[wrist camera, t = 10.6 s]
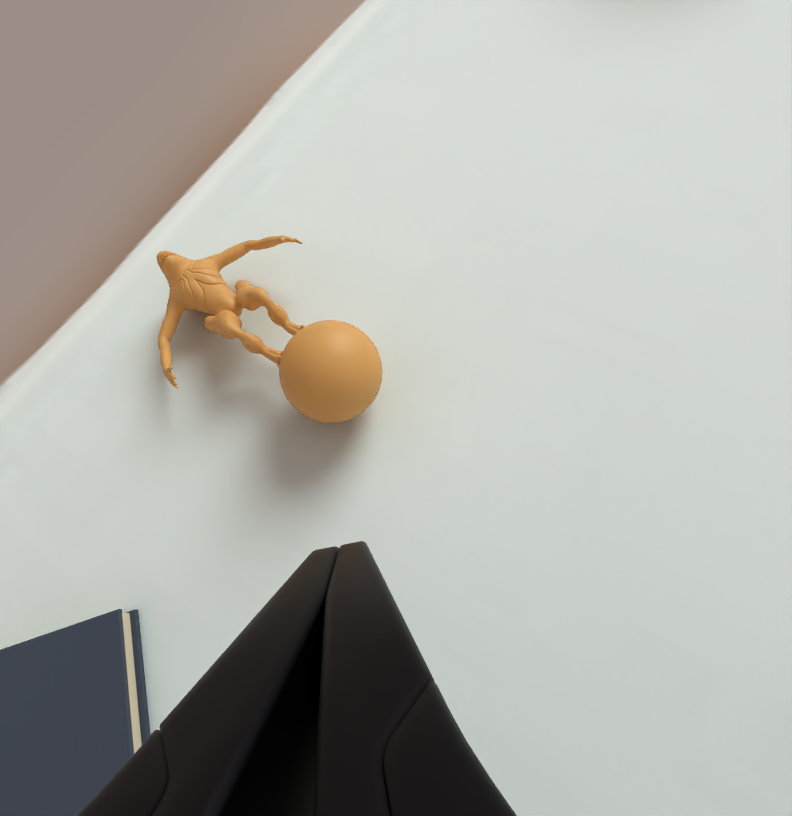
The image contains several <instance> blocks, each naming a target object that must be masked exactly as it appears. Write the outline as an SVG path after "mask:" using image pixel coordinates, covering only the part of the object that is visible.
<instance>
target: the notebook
mask: <svg viewBox="0 0 792 816" xmlns="http://www.w3.org/2000/svg"><path fill="white" fill-rule="evenodd" d="M149 736H150V727H149V717H148V707H147V697H146V686H145V676H144V666H143V656H142V645H141V635H140V625H139V615H138V610H132V611H129V612H126V613H122V609H118V610H115V611H112V612H109V613H106V614H103V615H100V616H97V617H95V618H92V619H89V620H86V621H83V622H80V623H77V624H74V625H71V626H68V627H66V628H63V629H60V630H57V631H54V632H51V633H48V634H45V635H42V636H39V637H37V638H34V639H31V640H28V641H25V642H22V643H19V644H16V645H13V646H10V647H7V648H5V649H2V650H0V816H77V815H78V814H79V813H80V812H81V811H82V810H83V809H84V808H85V807H86V806H87V805H88V804H89V803H90V802H91V801H92V800H93V799H94V797H95V796H96V795H97V794H98V793H99V792H100V791H101V790H102V789H103V788H104V787H105V785H106V784H107V783H108V782H109V781H110V780H111V779H112V778H113V777H114V776H115V774H116V773H117V772H118V771H119V770H120V769H121V768H122V767H123V766H124V765H125V763H126V762H127V761H128V760H129V759H130V758H131V757H132V756H133V755H134V754H135V752H136V751H137V750H138V749H139V748H140V747H141V746H142V744H143V743H144V742H145V741H146V740H147V739H148V738H149Z"/></svg>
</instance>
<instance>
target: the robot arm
mask: <svg viewBox="0 0 792 816" xmlns="http://www.w3.org/2000/svg"><path fill="white" fill-rule="evenodd" d="M77 816H516V814H515V813H514V811H513V810H512V808H511V807H510V806H509V804H508V803H507V801H506V800H505V798H504V797H503V796H502V794H501V793H500V791H499V790H498V788H497V787H496V786H495V784H494V783H493V781H492V780H491V778H490V777H489V775H488V774H487V772H486V771H485V769H484V767H483V766H482V764H481V763H480V761H479V760H478V758H477V757H476V755H475V754H474V752H473V750H472V749H471V747H470V746H469V744H468V743H467V741H466V739H465V738H464V736H463V734H462V732H461V730H460V728H459V727H458V725H457V723H456V721H455V719H454V718H453V716H452V714H451V712H450V710H449V708H448V707H447V705H446V702H445V700H444V698H443V696H442V694H441V692H440V690H439V688H438V686H437V685H436V684H435V682H434V679H433V677H432V675H431V673H430V671H429V669H428V667H427V665H426V663H425V661H424V659H423V657H422V655H421V653H420V651H419V649H418V647H417V645H416V643H415V641H414V639H413V637H412V635H411V633H410V631H409V629H408V627H407V625H406V623H405V621H404V619H403V617H402V615H401V613H400V611H399V609H398V607H397V605H396V602H395V600H394V598H393V596H392V594H391V592H390V590H389V588H388V586H387V584H386V582H385V580H384V578H383V576H382V574H381V572H380V570H379V568H378V566H377V564H376V562H375V560H374V558H373V556H372V554H371V552H370V550H369V548H368V546H367V544H366V543H365V542H363V541H360V542H355V543H350V544H345V545H342V546H341V547H340V548H338V547H329V548H324V549H319V550H315V551H313V552H312V553H311V554H310V555H309V556H308V557H307V558H306V559H305V561H304V562H303V563H302V564H301V565H300V566H299V567H298V569H297V570H296V571H295V572H294V573H293V574H292V575H291V577H290V578H289V579H288V580H287V581H286V582H285V583H284V584H283V586H282V587H281V588H280V589H279V590H278V591H277V592H276V594H275V595H274V596H273V597H272V598H271V599H270V600H269V602H268V603H267V604H266V605H265V606H264V607H263V608H262V609H261V611H260V612H259V613H258V614H257V615H256V616H255V617H254V619H253V620H252V621H251V622H250V623H249V624H248V625H247V627H246V628H245V629H244V630H243V631H242V632H241V633H240V634H239V636H238V637H237V638H236V639H235V640H234V641H233V642H232V644H231V645H230V646H229V647H228V648H227V649H226V650H225V652H224V653H223V654H222V655H221V656H220V657H219V658H218V659H217V661H216V662H215V663H214V664H213V665H212V666H211V667H210V669H209V670H208V671H207V672H206V673H205V674H204V675H203V677H202V678H201V679H200V680H199V681H198V682H197V683H196V684H195V686H194V687H193V688H192V689H191V690H190V691H189V692H188V694H187V695H186V696H185V697H184V698H183V699H182V700H181V702H180V703H179V704H178V705H177V706H176V707H175V708H174V709H173V711H172V712H171V713H170V714H169V715H168V716H167V717H166V719H165V720H164V721H163V722H162V723H161V725H160V730H155V731H154V732H153V733H152V734H151V735H150V736H149V738H148V739H147V740H146V741H145V742H144V743H143V744H142V746H141V747H140V748H139V749H138V750H137V751H136V752H135V754H134V755H133V756H132V757H131V758H130V759H129V760H128V761H127V762H126V763H125V765H124V766H123V767H122V768H121V769H120V770H119V771H118V772H117V773H116V774H115V776H114V777H113V778H112V779H111V780H110V781H109V782H108V783H107V784H106V785H105V787H104V788H103V789H102V790H101V791H100V792H99V793H98V794H97V795H96V796H95V797H94V799H93V800H92V801H91V802H90V803H89V804H88V805H87V806H86V807H85V808H84V809H83V810H82V811H81V812H80V813H79V814H78V815H77Z"/></svg>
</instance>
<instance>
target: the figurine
mask: <svg viewBox="0 0 792 816" xmlns="http://www.w3.org/2000/svg"><path fill="white" fill-rule="evenodd" d="M285 242H297V243H300V244H302V242H300V241H299V240H297V239H293V238H291V237H286V236H277V237H274V236H273V237H267V238H264V239H261V240H251V241H246V242H243V243H240V244H238V245H235V246H233V247H231V248H229V249H227V250H225V251H224V252H222V253H220V254H217V255H213V256H210V257H207V258H204V259H200V260H195V261H194V260H190V259H187V258H184V257H182V256H180V255H177V254H175V253H172V252H169V251H161V252H159V253H158V254H157V261H158V265H159V267H160V268H161V270H162V272H163V273H164V275H165V277H166V279H167V281H168V283H169V287H170V295H169V300H168V304H167V311H166V315H165V318H164V320H163V322H162V326H161V329H160V333H159V337H158V346H159V349H160V351H161V365H162V367H163V371H164V374H165V376H166V377H167V379H168V380H169V382H170V383H171V384H172V385H173V386H174V387H176V388H178V387H177V386H176V385H177V383H176V382H175V381H174V379H176V377H175V376H174V375H173V374H172V372H171V369H172V367H171V366H172V355H171V348H170V345H169V344H168V343H169V342H170V340H171V338H172V336H173V334H174V331H175V329H176V326H177V324H178V321H179V319H180V316H181V314H182V313H183V312H184V311H185V310H187V309H193V310H198V311H201V312H204V313H208V314H213V315H215V316H208V317H206V318H205V326H206V327H207V329H209V330H210V331H212V332H214V333H216V334H218V335H221V336H222V337H224V338H227V339H233V338H238V339H240V340H241V341H242V343H243V345H244V346H245V348H246V349H247V350H248V351H250V352H252V353H256V354H262V355H264V356H265V357H266V358H268V359H269V360H271V361H273V362H274V363H276V364H277V366H278V367H279V376H280V382H281V386H282V389H283V391H284V394H285V396H286V397H287V399H288V400H289V402H290V403H291V404H292V406H293V407H294V408H295V409H296V410H298V411H299V412H300V413H302V414H303V415H305V416H306V417H308V418H310V419H313V420H316V421H320V422H325V423H337V422H343V421H347V420H349V419H352V418H354V417H356V416H358V415H359V414H361V413H362V412H363V411H365V410H366V409H367V408H368V407H369V406H370V405H371V403H372V402H373V401H374V399H375V397H376V396H377V394H378V391H379V389H380V385H381V381H382V363H381V359H380V356H379V353H378V351H377V348H376V347H375V345H374V343H373V342H372V341H371V339H370V338H369V337H368V336H367V335H366V334H365V333H364V332H362V331H361V330H360V329H358V328H357V327H355V326H353V325H351V324H348V323H345V322H341V321H333V320H328V321H320V322H316V323H313V324H310V325H308V326H306V327H305V326H304V325H302V326H299V325H296V324H294V323H292V322H290V321H289V320H288V316H287V313H286V311H285V310H284V309H283V308H282V307H280V306H279V305H276V304H275V303H274V302H273V301H272V300H271V299H270V298H269V296H268V294H267V292H266V291H265V290H264V289H263V288H260V287H253V286H252V285H250V284H249V283H248V282H247V281H238V282H237V283H236V290H237V293H235V292H233V291H232V290H231V289H229V287H228V285H227V284H226V282H225V281H224V280H223V278H222V276H221V275H220V273H219V272H220V270H221V269H222V268H223V267H225V266H226V265H228V264H230V263H232V262H234V261H235V260H237V259H239V258H240V257H242V256H244V255H245V254H246V253H248V252H249V251H251V250H261V249H266V248H270V247H274V246H276V245H278V244H281V243H285ZM260 306H265V307H266V308H267V310H268V314H269V317H270V318H271V320H272V321H273V322H274V323H275V324H277V325H279V326H281V327H283V328H284V329H285V330H286V331H287V332H288V333H290V334H292V335H293V337H292V338H291V339H290V341H289V342H288V344H287V345H286V347H285V349H284V351H281V352H279V351H277V350H275V349H272V348H269V347H267V346H265V345H264V343H263V342H262V340H261V339H260V338H259V337H257V336H255V335H251V334H247V333H246V332H244V331H243V330H241V329H240V328H241V326H242V322H241V320H240V319H239V318H238V317H239V316H240V315H241V312H242V309H243V308H246V309H248V310H250V311H253V310H256V309H257V308H259V307H260ZM173 378H174V379H173Z"/></svg>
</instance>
